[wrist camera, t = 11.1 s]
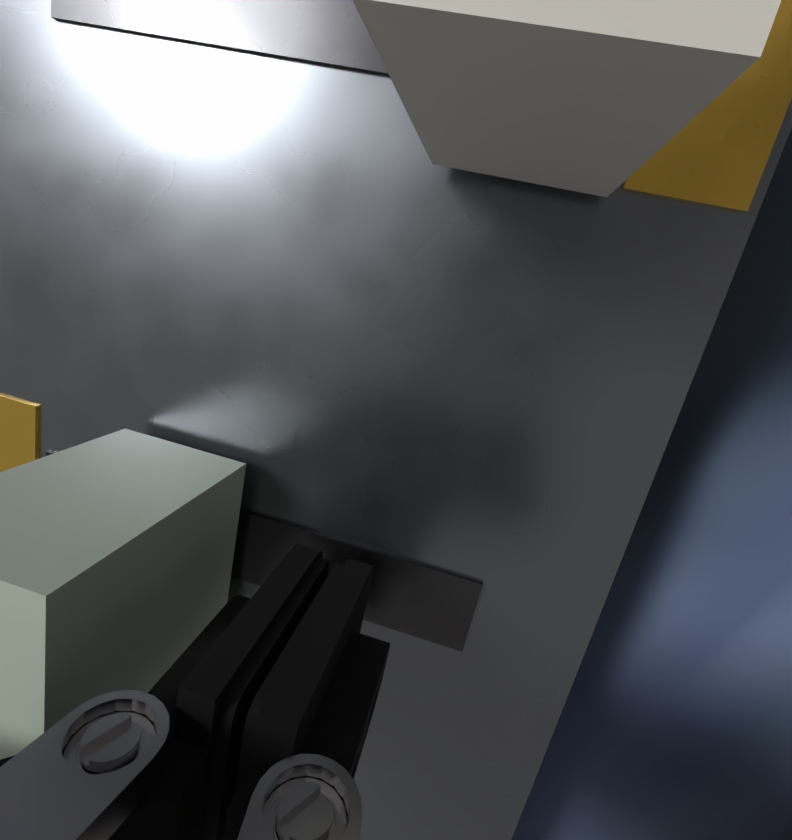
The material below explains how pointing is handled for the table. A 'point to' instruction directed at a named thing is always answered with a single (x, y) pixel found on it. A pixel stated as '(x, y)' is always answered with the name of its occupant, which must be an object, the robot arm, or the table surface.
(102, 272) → the grey slotted slider board
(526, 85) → the slider ivory
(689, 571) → the table surface
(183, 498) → the slider sage
